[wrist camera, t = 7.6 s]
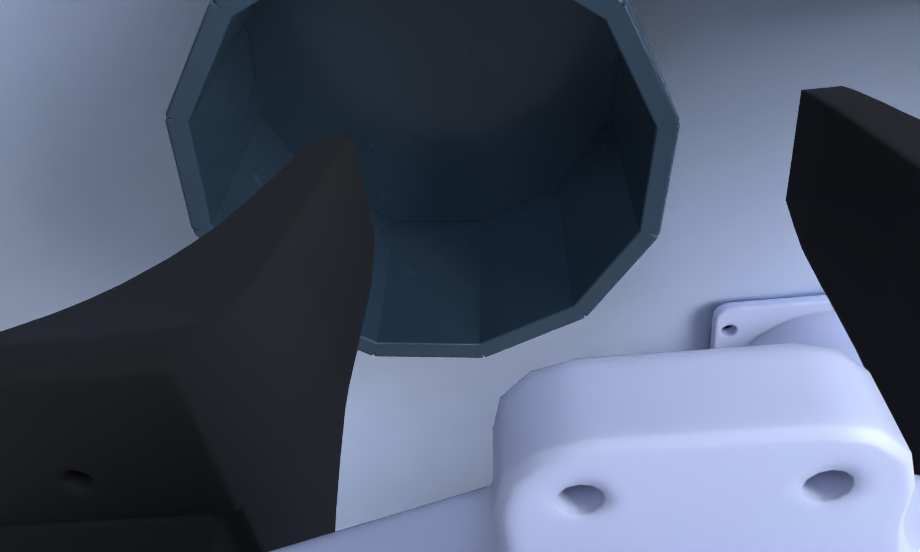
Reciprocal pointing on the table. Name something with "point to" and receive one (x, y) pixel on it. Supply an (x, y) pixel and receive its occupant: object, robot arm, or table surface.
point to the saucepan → (444, 149)
